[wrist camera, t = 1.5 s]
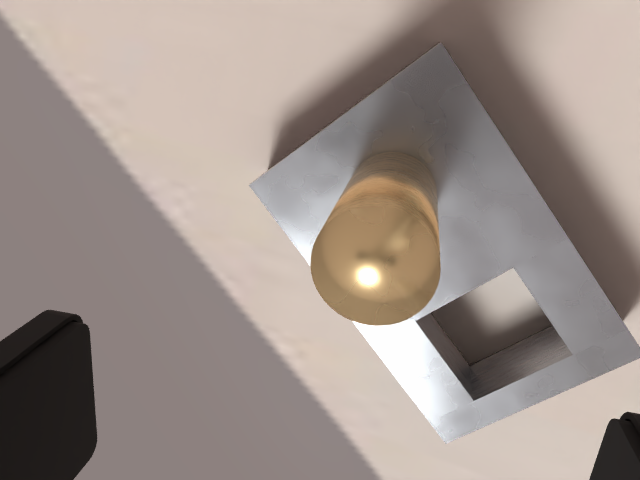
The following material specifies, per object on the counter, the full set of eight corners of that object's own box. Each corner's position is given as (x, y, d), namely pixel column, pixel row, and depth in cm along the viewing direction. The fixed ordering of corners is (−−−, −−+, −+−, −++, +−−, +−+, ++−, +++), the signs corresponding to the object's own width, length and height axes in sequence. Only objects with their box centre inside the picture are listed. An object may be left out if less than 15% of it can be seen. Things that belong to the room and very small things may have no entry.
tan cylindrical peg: (352, 146, 23) (315, 197, 15) (444, 157, 22) (451, 215, 15) (343, 230, 24) (305, 314, 17) (429, 243, 24) (429, 335, 16)
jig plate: (267, 170, 27) (249, 185, 24) (440, 42, 24) (441, 42, 21) (444, 406, 30) (445, 443, 27) (622, 322, 26) (645, 355, 23)
